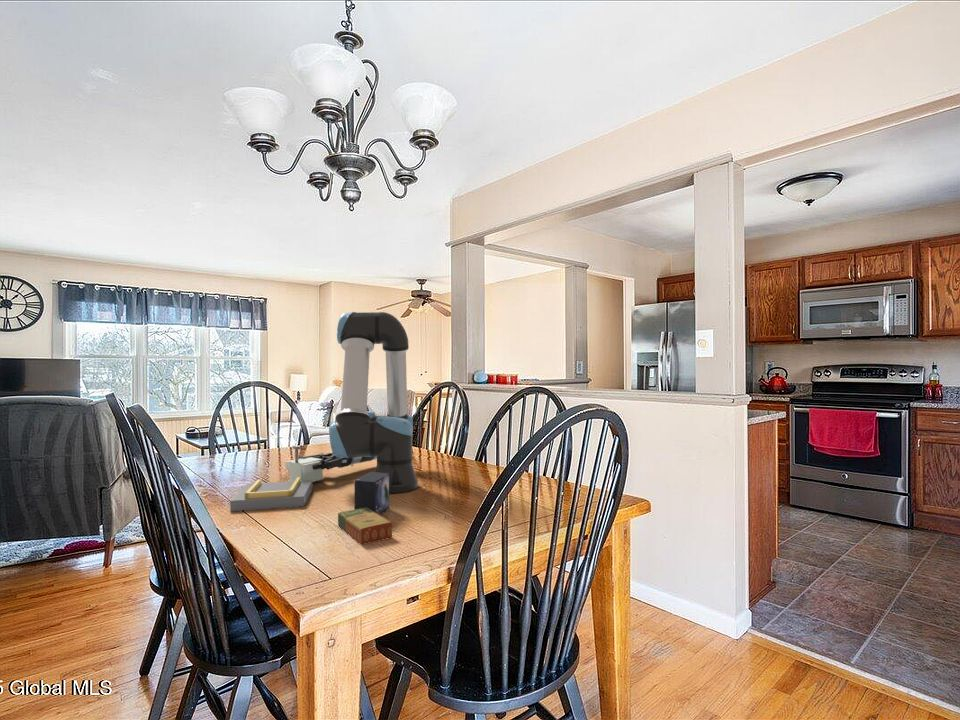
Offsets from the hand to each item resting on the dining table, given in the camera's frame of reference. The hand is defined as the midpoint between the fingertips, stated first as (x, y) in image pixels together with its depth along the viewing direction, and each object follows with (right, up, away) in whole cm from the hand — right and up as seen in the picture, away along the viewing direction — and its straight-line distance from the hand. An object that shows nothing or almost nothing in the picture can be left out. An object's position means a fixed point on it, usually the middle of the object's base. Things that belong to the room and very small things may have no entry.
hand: (294, 467), depth 175 cm
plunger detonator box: (+3, -6, +4) cm, 8 cm away
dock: (-1, -7, -15) cm, 17 cm away
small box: (+33, -7, -30) cm, 45 cm away
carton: (+34, -7, -45) cm, 57 cm away
